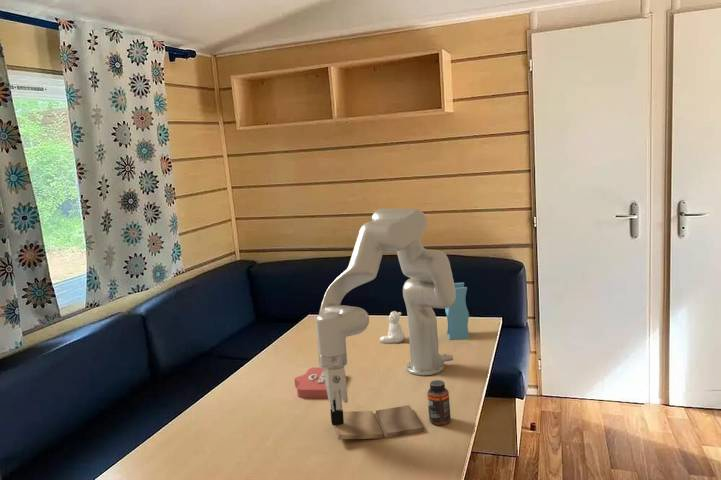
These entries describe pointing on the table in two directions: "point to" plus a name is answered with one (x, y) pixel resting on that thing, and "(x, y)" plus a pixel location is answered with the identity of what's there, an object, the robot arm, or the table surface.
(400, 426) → the brown wooden board
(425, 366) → the robot arm
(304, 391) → the plaque
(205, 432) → the table surface
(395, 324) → the white creature statuette
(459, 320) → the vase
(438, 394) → the supplement bottle
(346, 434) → the plank
